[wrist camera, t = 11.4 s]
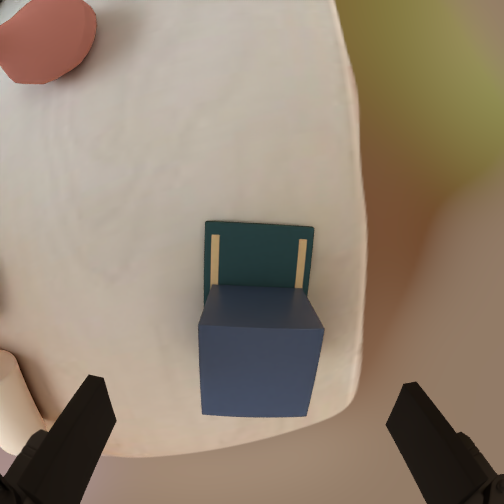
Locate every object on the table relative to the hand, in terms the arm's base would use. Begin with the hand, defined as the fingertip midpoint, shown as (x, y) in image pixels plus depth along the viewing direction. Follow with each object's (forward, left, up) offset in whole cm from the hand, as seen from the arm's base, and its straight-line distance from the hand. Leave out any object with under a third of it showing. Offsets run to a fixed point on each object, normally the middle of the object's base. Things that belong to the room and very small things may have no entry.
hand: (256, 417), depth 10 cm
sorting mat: (0, 0, -10) cm, 10 cm away
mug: (+13, -29, -10) cm, 33 cm away
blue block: (0, 0, -9) cm, 9 cm away
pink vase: (-22, -16, -10) cm, 29 cm away
